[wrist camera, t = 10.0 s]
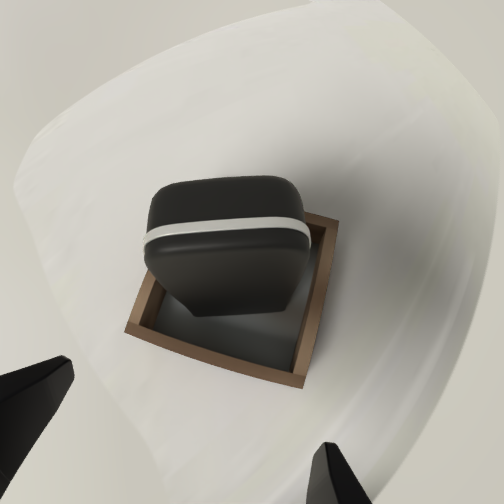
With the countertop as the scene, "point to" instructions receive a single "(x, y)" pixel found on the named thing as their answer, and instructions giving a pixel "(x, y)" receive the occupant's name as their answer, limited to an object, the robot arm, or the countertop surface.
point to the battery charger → (228, 244)
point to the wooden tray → (245, 322)
